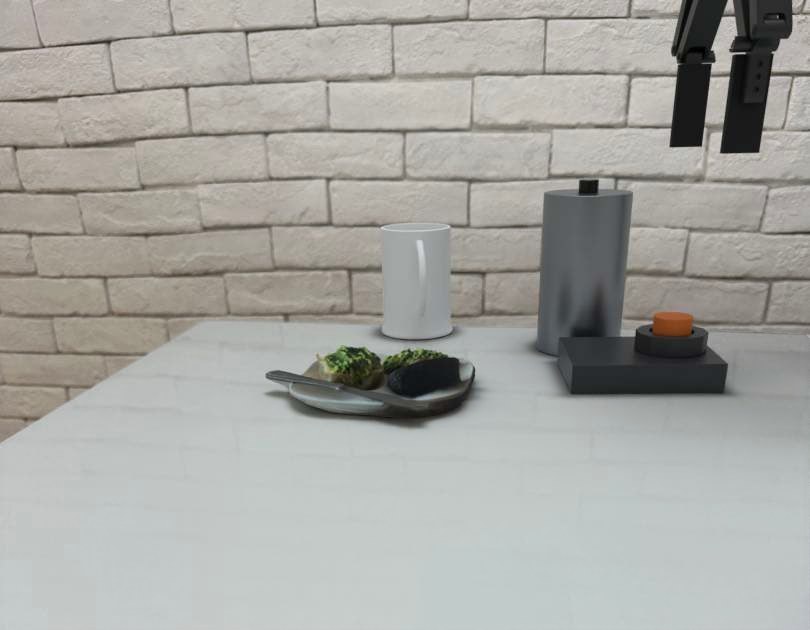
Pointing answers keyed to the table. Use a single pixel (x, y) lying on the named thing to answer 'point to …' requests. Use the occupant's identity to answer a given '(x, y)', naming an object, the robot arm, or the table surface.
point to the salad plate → (382, 382)
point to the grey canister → (582, 263)
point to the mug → (416, 280)
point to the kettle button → (672, 324)
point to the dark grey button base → (642, 363)
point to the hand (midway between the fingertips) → (710, 150)
